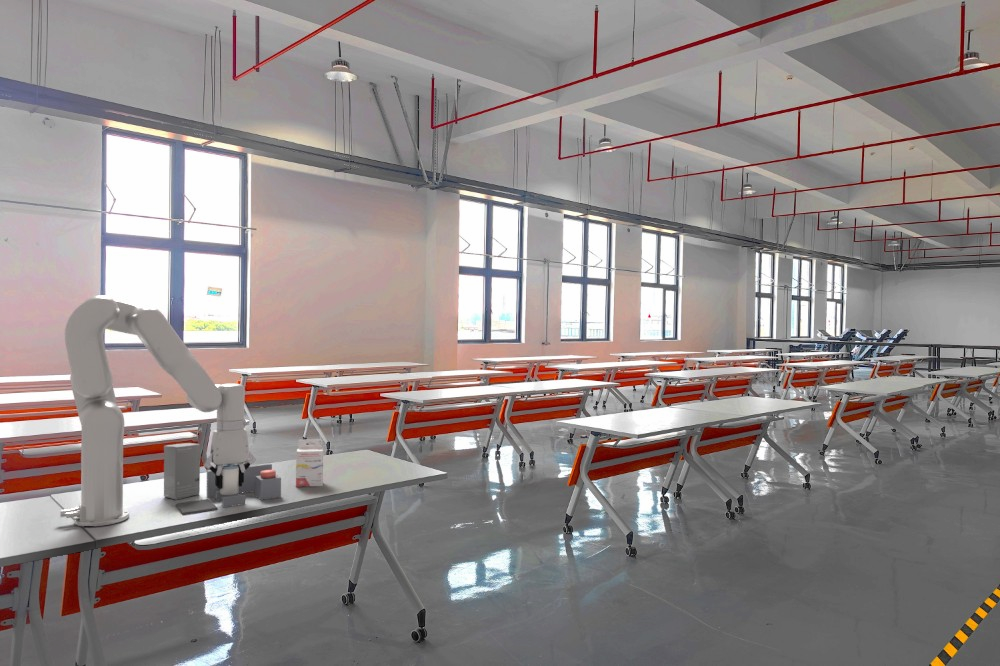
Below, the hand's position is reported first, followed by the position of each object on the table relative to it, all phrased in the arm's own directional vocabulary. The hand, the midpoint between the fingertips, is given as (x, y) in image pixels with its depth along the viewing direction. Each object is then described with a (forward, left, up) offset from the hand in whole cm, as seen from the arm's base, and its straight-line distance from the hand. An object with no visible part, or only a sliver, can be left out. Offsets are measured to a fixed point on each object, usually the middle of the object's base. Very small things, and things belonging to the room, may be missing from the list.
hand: (229, 486), depth 192 cm
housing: (+5, +2, -5) cm, 8 cm away
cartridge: (0, 0, -2) cm, 2 cm away
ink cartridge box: (+27, +7, -5) cm, 28 cm away
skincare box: (-10, +15, -5) cm, 19 cm away
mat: (-9, -1, -5) cm, 10 cm away
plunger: (+11, 0, -3) cm, 12 cm away
